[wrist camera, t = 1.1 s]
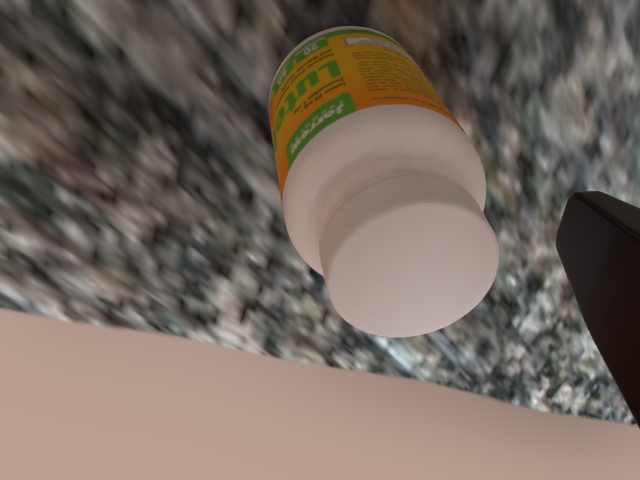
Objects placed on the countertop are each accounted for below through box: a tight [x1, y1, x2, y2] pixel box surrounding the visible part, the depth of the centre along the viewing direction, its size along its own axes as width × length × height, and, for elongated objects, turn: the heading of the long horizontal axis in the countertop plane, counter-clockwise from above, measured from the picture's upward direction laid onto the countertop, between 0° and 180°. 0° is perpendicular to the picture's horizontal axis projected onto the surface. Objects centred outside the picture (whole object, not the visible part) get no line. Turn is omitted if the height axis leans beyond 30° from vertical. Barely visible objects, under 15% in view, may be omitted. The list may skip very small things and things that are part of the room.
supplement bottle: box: [269, 26, 499, 337], centre depth 17 cm, size 5×5×10 cm
